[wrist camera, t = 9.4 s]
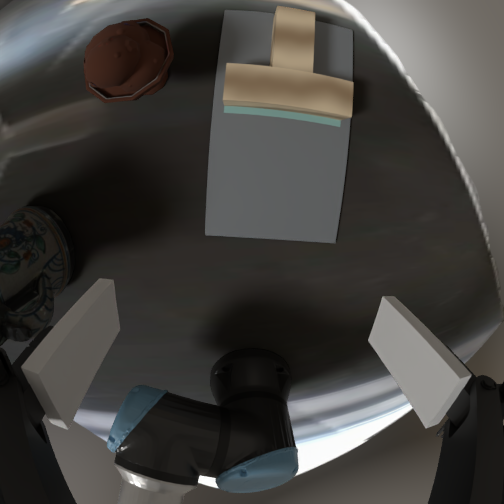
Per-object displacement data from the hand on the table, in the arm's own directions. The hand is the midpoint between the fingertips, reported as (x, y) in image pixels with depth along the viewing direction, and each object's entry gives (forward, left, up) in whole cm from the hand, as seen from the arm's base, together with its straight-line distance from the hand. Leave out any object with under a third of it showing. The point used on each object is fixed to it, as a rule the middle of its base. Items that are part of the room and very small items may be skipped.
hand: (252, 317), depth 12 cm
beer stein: (-8, +33, -27) cm, 44 cm away
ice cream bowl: (+18, +14, -27) cm, 36 cm away
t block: (+21, -5, -26) cm, 34 cm away
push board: (+13, -5, -27) cm, 30 cm away
